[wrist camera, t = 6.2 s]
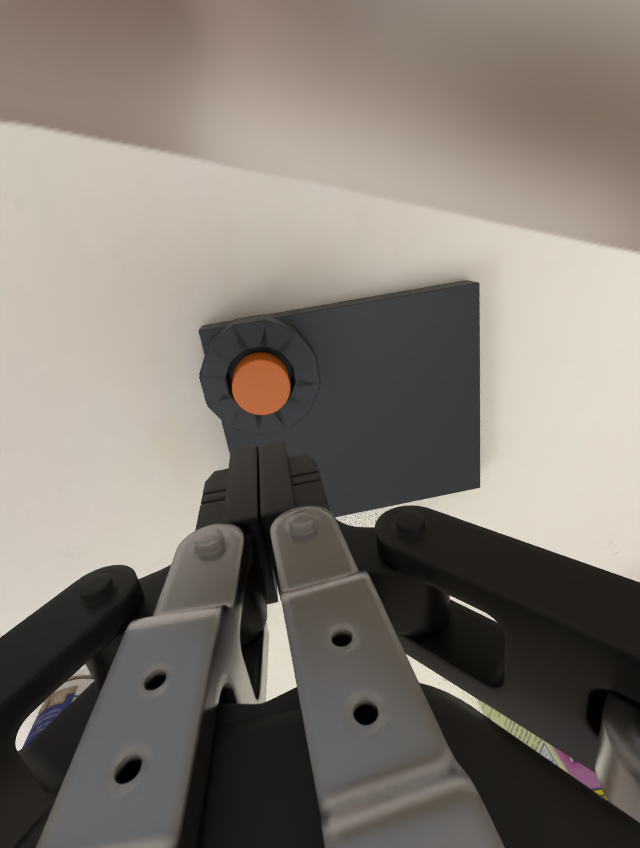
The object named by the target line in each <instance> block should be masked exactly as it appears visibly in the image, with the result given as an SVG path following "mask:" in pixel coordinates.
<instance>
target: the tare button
mask: <svg viewBox="0 0 640 848" xmlns="http://www.w3.org/2000/svg"><path fill="white" fill-rule="evenodd" d="M290 390H291V385H290V380H289V376H288V372H287V369H286V367H285V365H284V364H283V362H282V361H281V360H280V359H279V358H277V357H276V356H274V355H272V354H270V353H266V352H255V353H251V354H249V355H247V356H245V357H244V358H242V359H241V360H240V361H239V363H238V364H237V366H236V368H235V370H234V374H233V380H232V393H233V396H234V399H235V401H236V402H237V404H238V405H239V406H240V407H241V408H242V409H244V410H245V411H247V412H249V413H252V414H255V415H268V414H271V413H274V412H276V411H278V410H279V409H280V408H282V407H283V406H284V404H285V403H286V402H287V400H288V398H289V395H290Z"/></svg>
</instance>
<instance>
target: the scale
mask: <svg viewBox="0 0 640 848" xmlns="http://www.w3.org/2000/svg"><path fill="white" fill-rule="evenodd" d="M199 334H200V338H201V342H202V346H203V350H204V354H205V357H204V361H203V364H202V367H201V370H200V374H199V375H200V377H199V378H200V382H201V386H202V389H203V393H204V397H205V401H206V404H207V406H208V407H209V408H210V409H211V410H212V411H213V412H214V413H215V414H216V415H217V416H218V417H219V418H220V419H221V420H222V424H223V428H224V432H225V436H226V440H227V444H228V448H229V452H230V453H231V451H232V450H237V449H242V448H247V447H253V446H257V447H258V450H259V445H263V444H268V443H273V442H278V441H283V440H284V441H285V445H286V450H287V455H288V457H290V456H295V455H301V454H308V455H309V456H310V457H312V458H313V459H315V460H316V462H317V466H318V469H319V473H320V476H321V480H322V483H323V487H324V490H325V494H326V497H327V501H328V504H329V508H330V511H331V512H332V513H333V515H334V516H335V517H339V516H344V515H348V514H353V513H358V512H363V511H368V510H373V509H378V508H383V507H388V506H393V505H397V504H402V503H407V502H412V501H417V500H422V499H427V498H432V497H437V496H442V495H446V494H451V493H456V492H461V491H466V490H471V489H476V488H480V325H479V283H478V282H473V281H461V282H455V283H449V284H443V285H437V286H432V287H426V288H420V289H414V290H408V291H402V292H397V293H391V294H385V295H379V296H373V297H367V298H362V299H356V300H350V301H344V302H338V303H332V304H327V305H321V306H315V307H309V308H303V309H297V310H292V311H286V312H280V313H274V314H268V315H258V316H252V317H246V318H240V319H235V320H233V321H227V322H222V323H216V324H210V325H204V326H202V327H201V329H200V330H199ZM255 352H266V353H270V354H272V355H274V356H276V357H277V358H279V359H280V360H281V361H282V362H283V364H284V365H285V367H286V369H287V372H288V376H289V380H290V385H291V390H290V395H289V398H288V400H287V402H286V403H285V404H284V406H283V407H282V408H280V409H279V410H278V411H276V412H274V413H271V414H268V415H255V414H252V413H249V412H247V411H245V410H244V409H242V408H241V407H240V406H239V405H238V404H237V402H236V401H235V399H234V396H233V393H232V380H233V374H234V370H235V368H236V366H237V364H238V363H239V361H240V360H241V359H242V358H244V357H245V356H247V355H249V354H251V353H255Z"/></svg>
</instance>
